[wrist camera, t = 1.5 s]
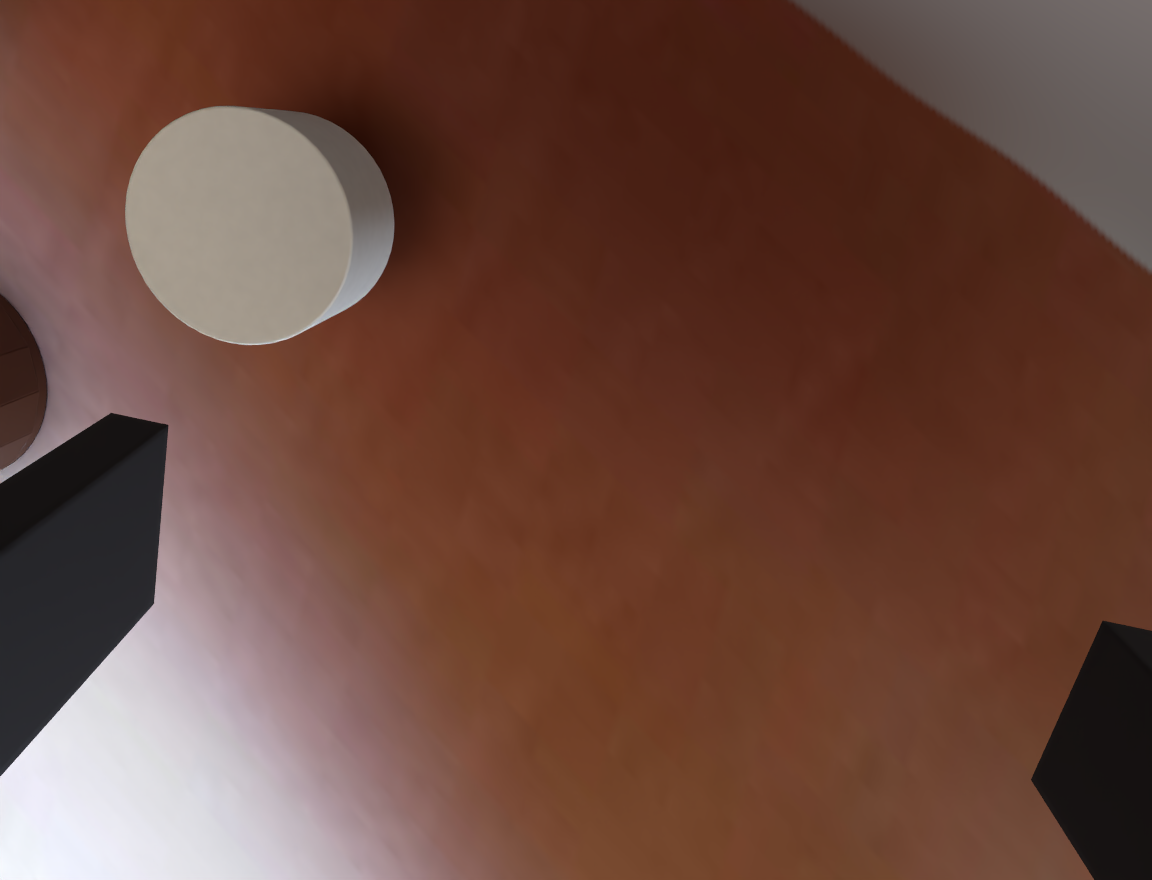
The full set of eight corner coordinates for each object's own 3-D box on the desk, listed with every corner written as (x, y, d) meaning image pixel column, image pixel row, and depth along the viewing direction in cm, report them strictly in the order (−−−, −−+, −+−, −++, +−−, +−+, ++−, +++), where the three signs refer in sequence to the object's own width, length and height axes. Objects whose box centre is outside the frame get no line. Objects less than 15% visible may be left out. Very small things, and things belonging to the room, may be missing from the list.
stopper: (369, 80, 35) (272, 59, 26) (459, 249, 36) (395, 282, 27) (218, 168, 36) (78, 176, 27) (310, 328, 37) (206, 383, 29)
